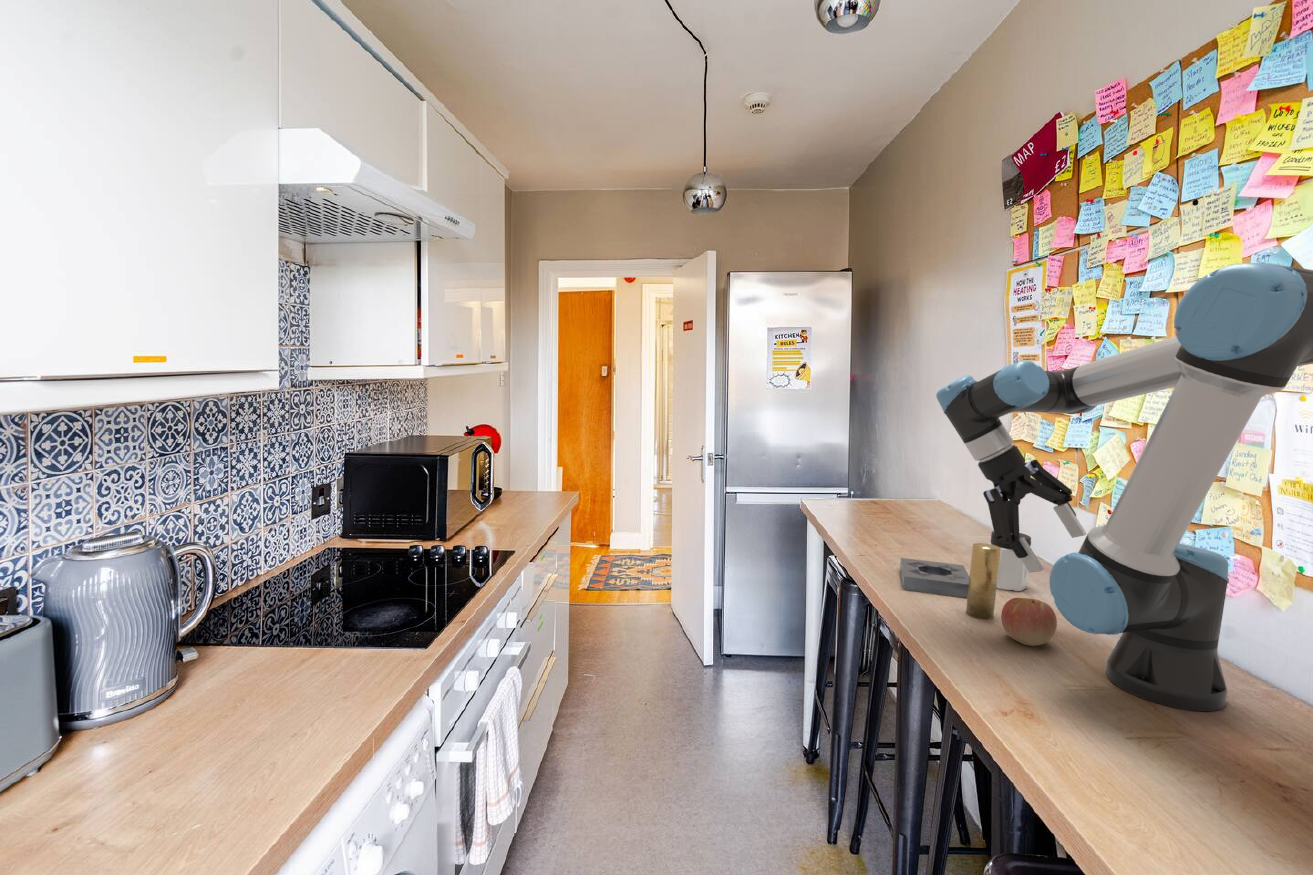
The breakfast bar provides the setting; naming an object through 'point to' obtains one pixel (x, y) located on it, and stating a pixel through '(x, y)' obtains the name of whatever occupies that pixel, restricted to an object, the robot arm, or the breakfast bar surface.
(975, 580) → the brass cylinder
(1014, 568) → the jar
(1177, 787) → the breakfast bar surface
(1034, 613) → the apple
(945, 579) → the jig
